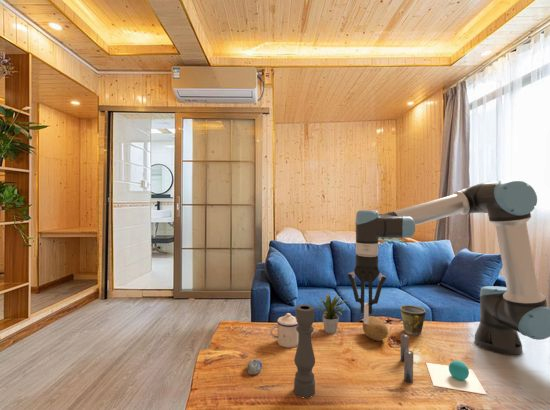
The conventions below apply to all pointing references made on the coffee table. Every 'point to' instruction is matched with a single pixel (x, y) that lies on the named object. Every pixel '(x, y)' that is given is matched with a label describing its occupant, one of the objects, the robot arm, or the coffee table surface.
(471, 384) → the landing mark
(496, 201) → the robot arm
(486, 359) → the coffee table surface
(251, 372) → the decorative stone
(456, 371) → the ball
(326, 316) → the house plant
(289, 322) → the teacup with lid
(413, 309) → the ceramic cup
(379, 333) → the potato
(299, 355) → the candle holder
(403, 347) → the post
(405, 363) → the post
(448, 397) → the coffee table surface
